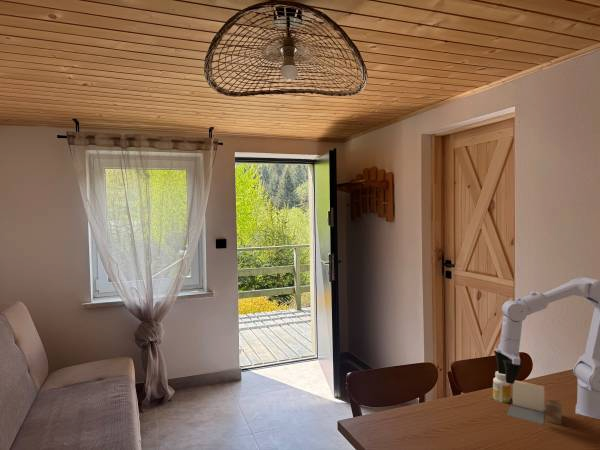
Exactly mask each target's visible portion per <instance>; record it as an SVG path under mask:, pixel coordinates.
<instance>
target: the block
mask: <svg viewBox="0 0 600 450" xmlns="http://www.w3.org/2000/svg"><path fill="white" fill-rule="evenodd" d="M562 404H563V402H560V401H556V400H551V399H546V402H545V407H546V412H545V422H547V423H551V424H554V425H559V426H562V416H563V414H562V412H563V409H562V407H563V405H562Z"/></svg>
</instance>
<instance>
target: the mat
mask: <svg viewBox="0 0 600 450" xmlns="http://www.w3.org/2000/svg"><path fill="white" fill-rule="evenodd" d="M506 415H507V416H509V417H512V418H516V419H521V420H523V421H524V420H525V421H529V422H531V423H535V424H540V425H544V422H545V418H546V406H544V412H542V411H538V410H533V409H529V408H525V407H521V406H517V405H513V399H512V400H511V403H510V405H509V408H508V411H507V413H506Z"/></svg>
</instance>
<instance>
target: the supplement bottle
mask: <svg viewBox="0 0 600 450" xmlns="http://www.w3.org/2000/svg"><path fill="white" fill-rule="evenodd" d="M494 376H495V377H493V379H492V381H493V382H492V398H493V400H495V401H497V402H500V403H510V402H511V383H507V382H506V374H500V373H498V370H497V371H495V373H494Z"/></svg>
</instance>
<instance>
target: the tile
mask: <svg viewBox="0 0 600 450" xmlns="http://www.w3.org/2000/svg"><path fill="white" fill-rule="evenodd" d="M512 400H513V405H517V406H521V407H525V408H529V409H533V410H538V411H542V412H544V407H545V386H544V385H540V384H536V383H531V382H526V381H522V380H521V381H520V380H516V379H515V382H514V384H512Z"/></svg>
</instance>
